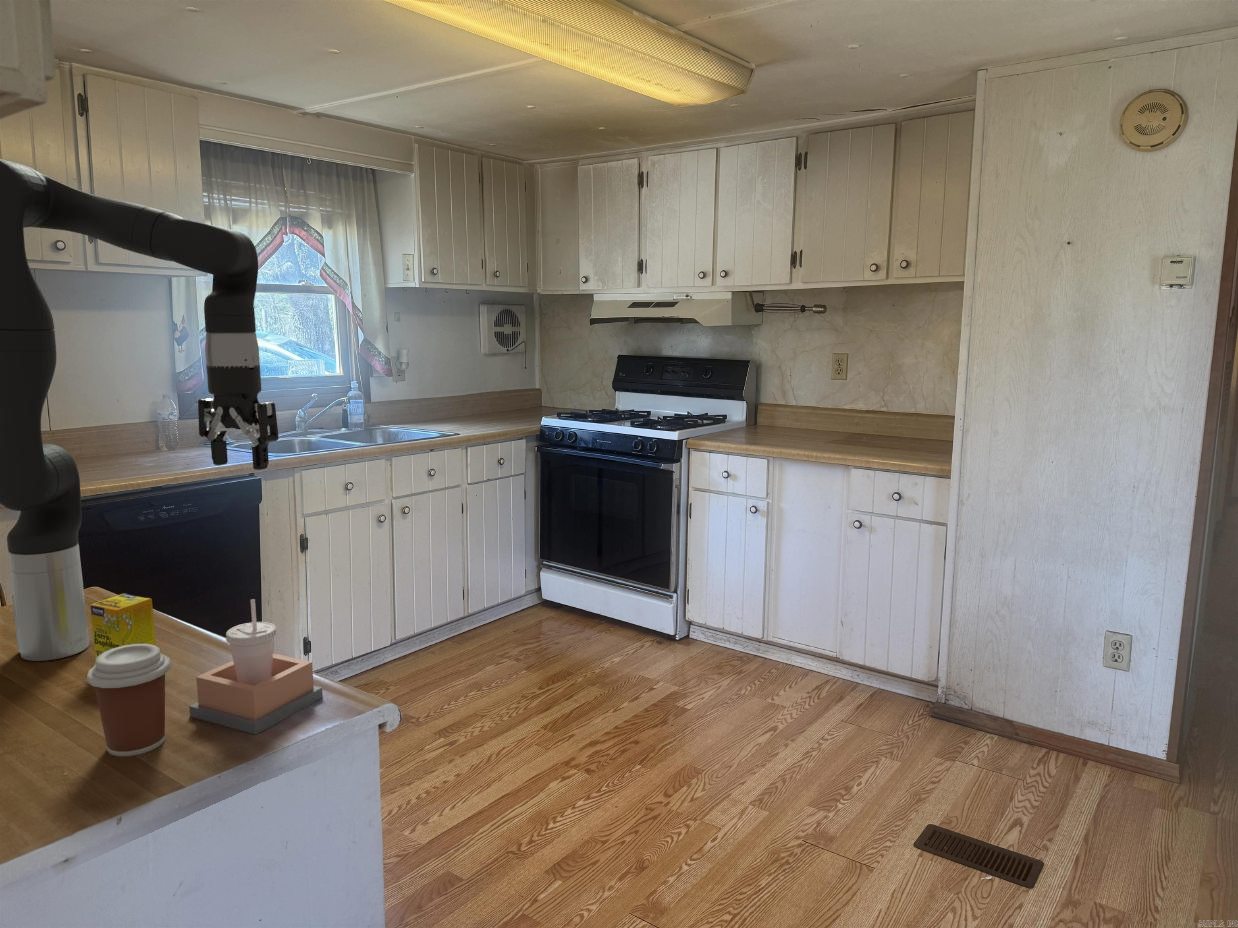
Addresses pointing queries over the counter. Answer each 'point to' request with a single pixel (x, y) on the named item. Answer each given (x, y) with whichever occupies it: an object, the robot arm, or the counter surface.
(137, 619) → the supplement box
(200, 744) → the counter surface
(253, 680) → the smoothie
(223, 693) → the socket
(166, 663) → the coffee cup
